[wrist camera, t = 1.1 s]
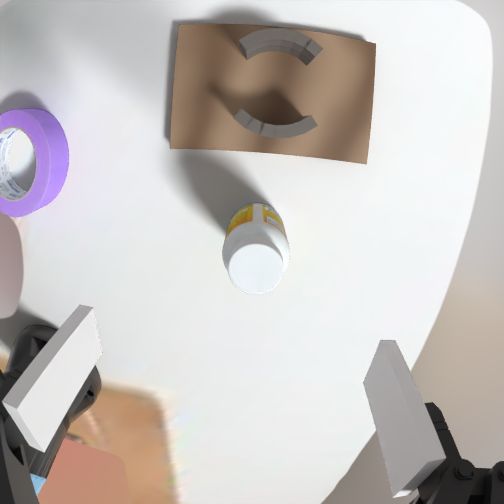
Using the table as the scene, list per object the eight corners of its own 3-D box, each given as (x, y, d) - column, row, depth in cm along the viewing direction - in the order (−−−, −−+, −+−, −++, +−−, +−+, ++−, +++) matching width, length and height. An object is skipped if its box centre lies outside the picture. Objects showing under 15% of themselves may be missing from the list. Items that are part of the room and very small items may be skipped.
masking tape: (17, 221, 31) (-1, 231, 28) (-10, 138, 27) (-30, 142, 24) (84, 185, 30) (66, 193, 27) (53, 90, 26) (33, 88, 22)
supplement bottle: (285, 204, 31) (299, 236, 22) (280, 255, 33) (290, 304, 24) (229, 200, 31) (219, 231, 22) (227, 252, 33) (217, 300, 24)
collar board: (173, 147, 29) (157, 152, 24) (182, 29, 24) (168, 10, 19) (361, 162, 29) (382, 170, 24) (370, 47, 25) (392, 33, 19)
